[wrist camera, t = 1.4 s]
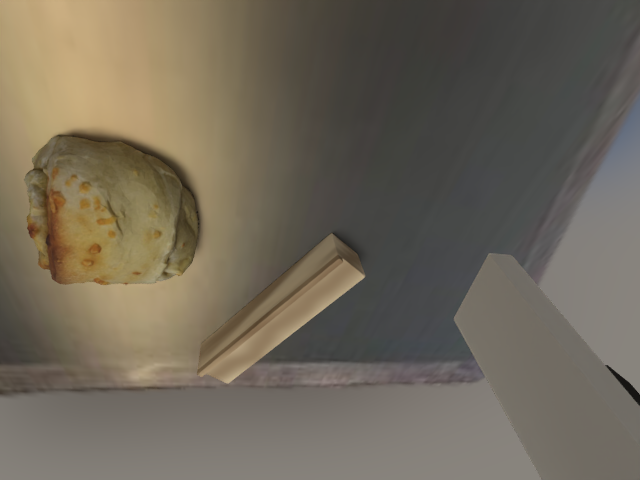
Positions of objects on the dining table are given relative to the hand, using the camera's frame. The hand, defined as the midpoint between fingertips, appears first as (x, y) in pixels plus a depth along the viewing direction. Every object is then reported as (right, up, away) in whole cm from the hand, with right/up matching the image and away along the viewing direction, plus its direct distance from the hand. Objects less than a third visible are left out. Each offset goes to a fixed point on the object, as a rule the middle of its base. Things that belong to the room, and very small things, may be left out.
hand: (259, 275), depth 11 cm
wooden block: (-3, -6, +32) cm, 33 cm away
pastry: (-15, +4, +24) cm, 28 cm away
